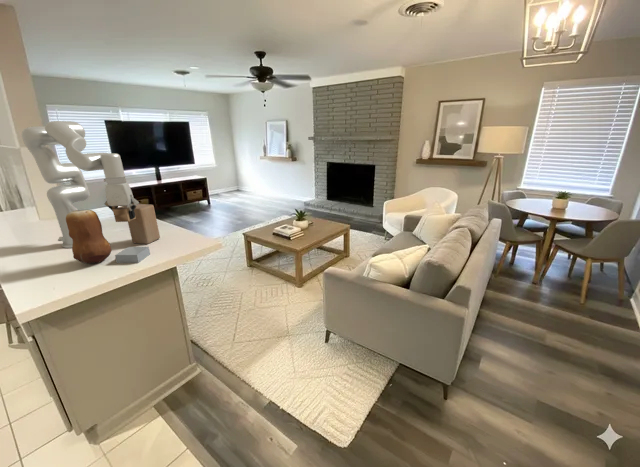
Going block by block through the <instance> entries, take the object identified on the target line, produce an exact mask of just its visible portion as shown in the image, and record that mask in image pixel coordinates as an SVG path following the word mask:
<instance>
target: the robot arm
mask: <svg viewBox="0 0 640 467" xmlns="http://www.w3.org/2000/svg"><path fill="white" fill-rule="evenodd" d="M85 137H86V131H85V128H84V126H82V125H81V124H80V123H78V122H76V121H73V120H72V121H69V120H67V121H65V120H52V121H48V122H47V123H46V124H45V125H44V126H28V127H25V128H24V129H23V130H22V132H21V138H22V142H23V144H24V146H25V147H26V148H27V150H28V151H29V152H30V154H31V155H32V157H33V158H34V160H35V163H36V165H37V167H38V169H39V171H40V174H41V176H42V178H43V179H44V181H45V182H46V183H47V184H51V185H52V184H53V185H54V184H61V185H57V186H53V187H50V188H48V190H47V191H46V197H47V199H48V201H49V203H50V205H51V206H52V208H53V211H54V213H55V216H56V219H57V221H58V222H57V223H58V225H59V229H60V231H61V235H62V236H59V237H58V239H57V241H58V242H62V243H61V247H62V248H65V249H69V248H70V249H72V245H73V240H72V238H71V237H70V236H69V230H68V227H67V223H66V216H67V214H68V213H69V212H72V211H75V210H79V209H78V208H77V207H76V206H74V205H73V203H75V204H76V203H79V202H85V201H86V200H88V199H89V198H90V197H91V196H90V195H91V192H90V189H89V186H88V184H87V182H86V180H85V177H84V174H83V172H82V171H85V172H92V171H102V170H103V174H104V179H103V182H105V183H106V184H105V188H104V189H105V190H104V191H105V198H106V200H105V202H104V206H106V207H107V208H108V209H110V210H111V211H112V212H113V209H116V208H118V207H126V206H127V208H128V209H129V216H130V219H133V218H135V212H134V210H135V208H136V207H137V205H138V204H140V202H139V201H138V200H137V199H136V198H134V195H133V191H132V189H131V187H130V185H129V183H128V182H127V178H126V175H125V170H124V166H123V162H122V159H121V155H120V154H119V153H117V152H116V153H114V152H113V153H111V152H109V153H107V152H92V153H91V152H88V153H82V151H84V150H85V148H86V147H87V140H86V138H85ZM56 145H58V146H60V145H61V146H63V147H64V148H65V154H66V156H67V160H68V161H70V162H65V163H61V162H60V160H59V158H58V155H57V153H56V152H55V151H54V150H52V149H51V148H49V147H48V146H56ZM63 183H70V184H63ZM62 184H63V185H62Z"/></svg>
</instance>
